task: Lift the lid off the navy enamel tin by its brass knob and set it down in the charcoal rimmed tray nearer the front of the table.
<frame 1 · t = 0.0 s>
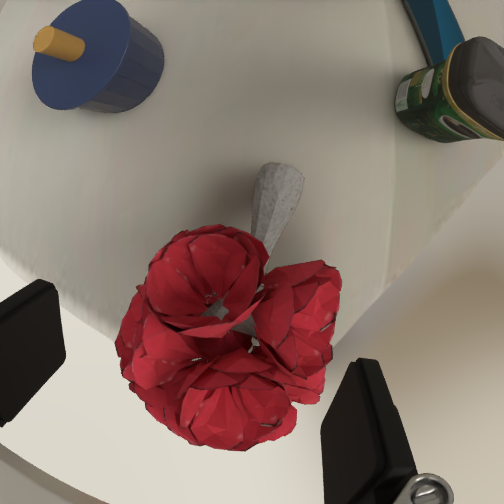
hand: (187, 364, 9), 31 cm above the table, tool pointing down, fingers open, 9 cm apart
coffee jar: (426, 107, 33), on the table
tin: (121, 69, 35), on the table
bouquet: (252, 276, 42), on the table
tin lid: (77, 51, 25), point 10 cm above the table, touching tin
smartphone: (434, 25, 28), on the table
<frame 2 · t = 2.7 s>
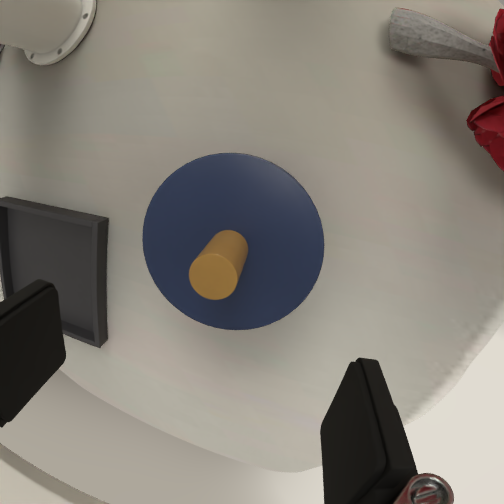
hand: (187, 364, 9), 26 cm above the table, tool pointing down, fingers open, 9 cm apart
tray: (50, 266, 38), on the table
bouquet: (486, 89, 26), on the table
tin lid: (230, 246, 24), point 10 cm above the table, touching tin
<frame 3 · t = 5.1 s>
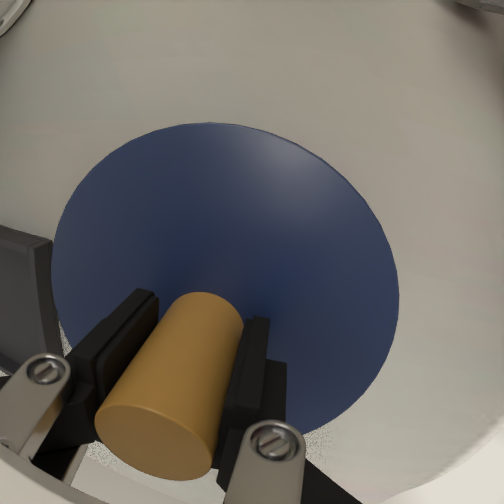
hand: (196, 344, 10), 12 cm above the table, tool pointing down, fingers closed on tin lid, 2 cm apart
tin lid: (208, 319, 11), point 11 cm above the table, touching gripper, tin
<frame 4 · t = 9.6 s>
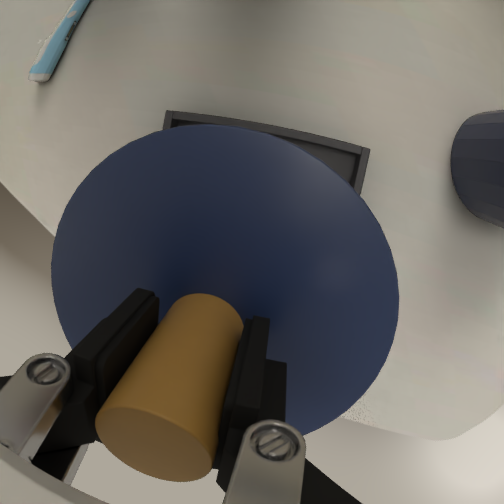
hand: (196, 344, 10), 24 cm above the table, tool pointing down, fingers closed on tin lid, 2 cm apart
tray: (251, 211, 32), on the table
tin: (492, 166, 28), on the table
tin lid: (208, 320, 11), point 22 cm above the table, touching gripper
pen: (74, 20, 27), on the table
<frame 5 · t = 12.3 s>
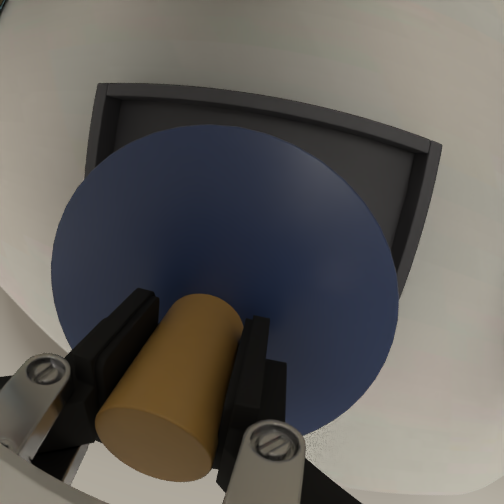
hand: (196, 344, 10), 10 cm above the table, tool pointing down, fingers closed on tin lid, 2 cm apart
tray: (240, 246, 20), on the table
tin lid: (208, 320, 11), point 9 cm above the table, touching gripper
when the fingers open (3 cm above the table, at t = 14.2 s): tin lid stays where it is, resting on tray.
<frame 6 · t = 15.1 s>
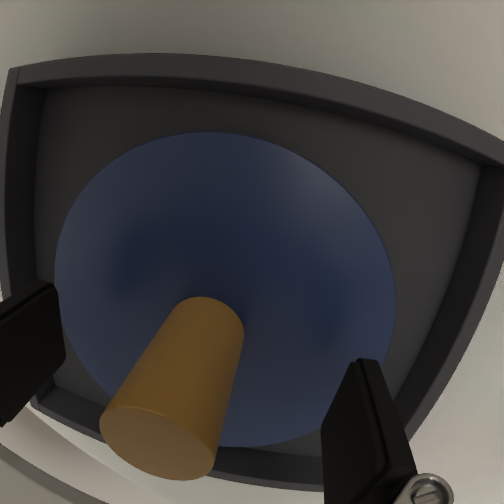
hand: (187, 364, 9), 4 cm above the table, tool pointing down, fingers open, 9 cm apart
tray: (215, 306, 13), on the table
tin lid: (209, 323, 12), point 1 cm above the table, touching tray
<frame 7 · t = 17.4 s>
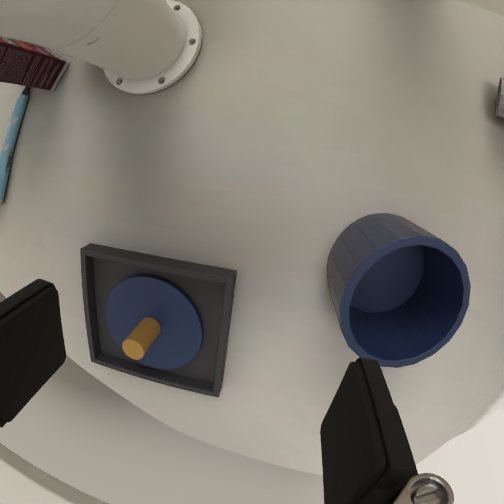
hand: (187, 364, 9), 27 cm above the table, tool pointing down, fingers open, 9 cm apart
supplement box: (47, 66, 31), on the table
tray: (155, 319, 40), on the table
tin: (380, 267, 34), on the table
tin lid: (152, 324, 39), point 1 cm above the table, touching tray
pen: (11, 148, 35), on the table
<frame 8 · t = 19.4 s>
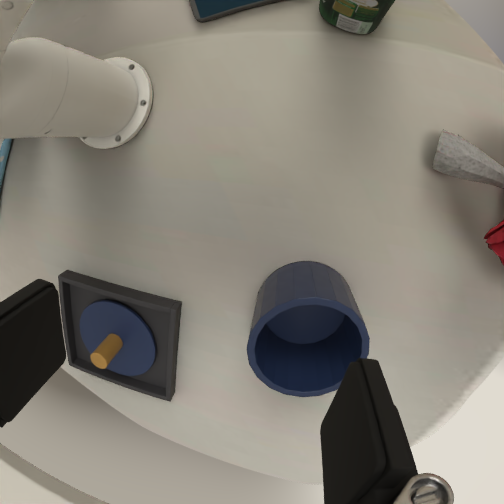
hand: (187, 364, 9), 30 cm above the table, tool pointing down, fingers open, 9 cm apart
coffee jar: (350, 4, 29), on the table
tray: (119, 334, 46), on the table
tin: (304, 306, 41), on the table
bouquet: (503, 188, 33), on the table
tin lid: (116, 339, 45), point 1 cm above the table, touching tray
pen: (0, 181, 41), on the table
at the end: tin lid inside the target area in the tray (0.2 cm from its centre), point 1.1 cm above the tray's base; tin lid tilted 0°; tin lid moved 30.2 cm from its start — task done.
